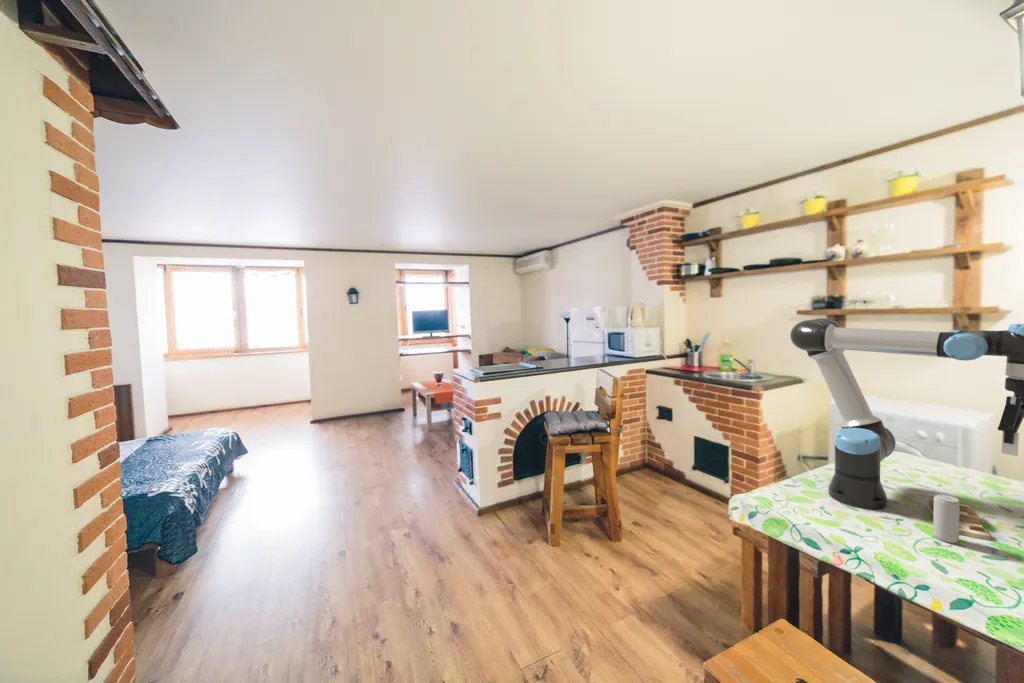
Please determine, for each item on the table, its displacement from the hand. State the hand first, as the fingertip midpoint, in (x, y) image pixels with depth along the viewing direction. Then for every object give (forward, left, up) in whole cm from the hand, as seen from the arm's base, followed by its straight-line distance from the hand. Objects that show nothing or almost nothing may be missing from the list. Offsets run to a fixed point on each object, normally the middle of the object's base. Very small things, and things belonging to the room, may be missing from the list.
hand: (1022, 450), depth 111 cm
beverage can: (-19, -19, -23) cm, 35 cm away
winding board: (-14, -6, -23) cm, 27 cm away
